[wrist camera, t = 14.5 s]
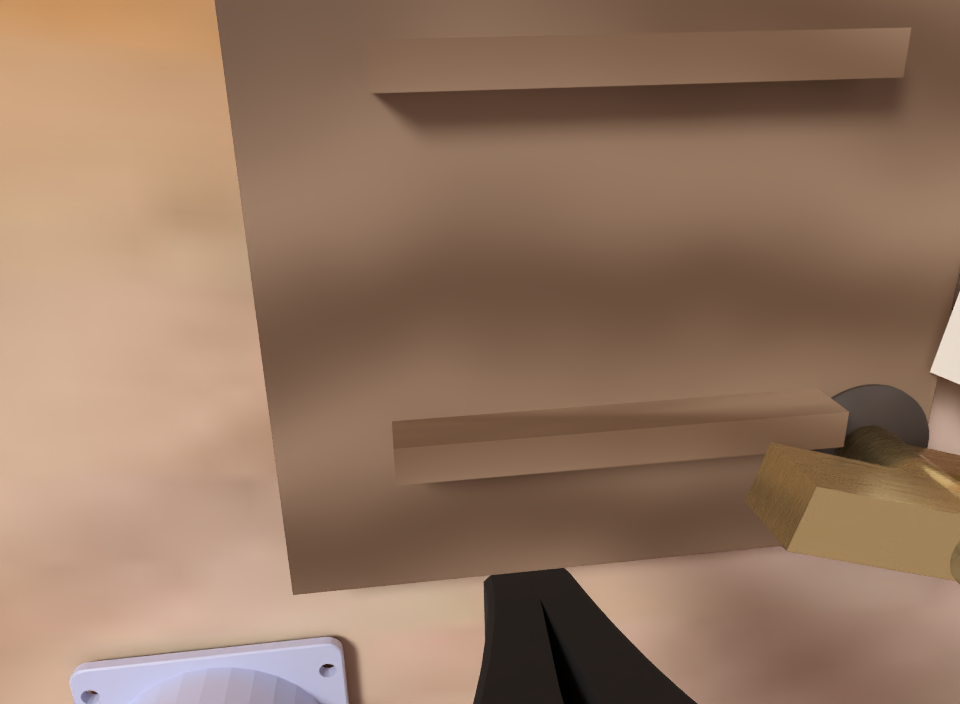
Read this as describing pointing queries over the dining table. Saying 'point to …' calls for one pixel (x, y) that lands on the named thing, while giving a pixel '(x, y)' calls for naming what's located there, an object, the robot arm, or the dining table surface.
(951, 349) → the cream cover
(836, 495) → the brass T-key
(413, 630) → the dining table surface
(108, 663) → the robot arm
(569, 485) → the board
